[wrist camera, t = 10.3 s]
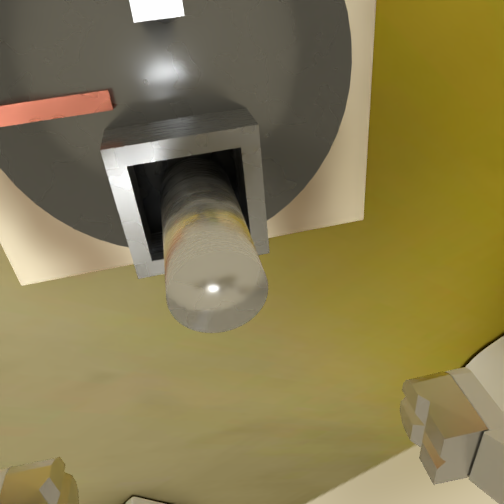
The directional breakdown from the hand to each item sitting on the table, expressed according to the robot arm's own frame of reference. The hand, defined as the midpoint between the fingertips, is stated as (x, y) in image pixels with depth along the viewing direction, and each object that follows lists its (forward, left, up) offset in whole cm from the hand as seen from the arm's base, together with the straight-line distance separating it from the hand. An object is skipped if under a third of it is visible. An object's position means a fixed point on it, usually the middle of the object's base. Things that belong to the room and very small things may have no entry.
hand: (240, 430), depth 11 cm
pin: (0, 0, -13) cm, 13 cm away
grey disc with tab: (0, -5, -17) cm, 18 cm away
